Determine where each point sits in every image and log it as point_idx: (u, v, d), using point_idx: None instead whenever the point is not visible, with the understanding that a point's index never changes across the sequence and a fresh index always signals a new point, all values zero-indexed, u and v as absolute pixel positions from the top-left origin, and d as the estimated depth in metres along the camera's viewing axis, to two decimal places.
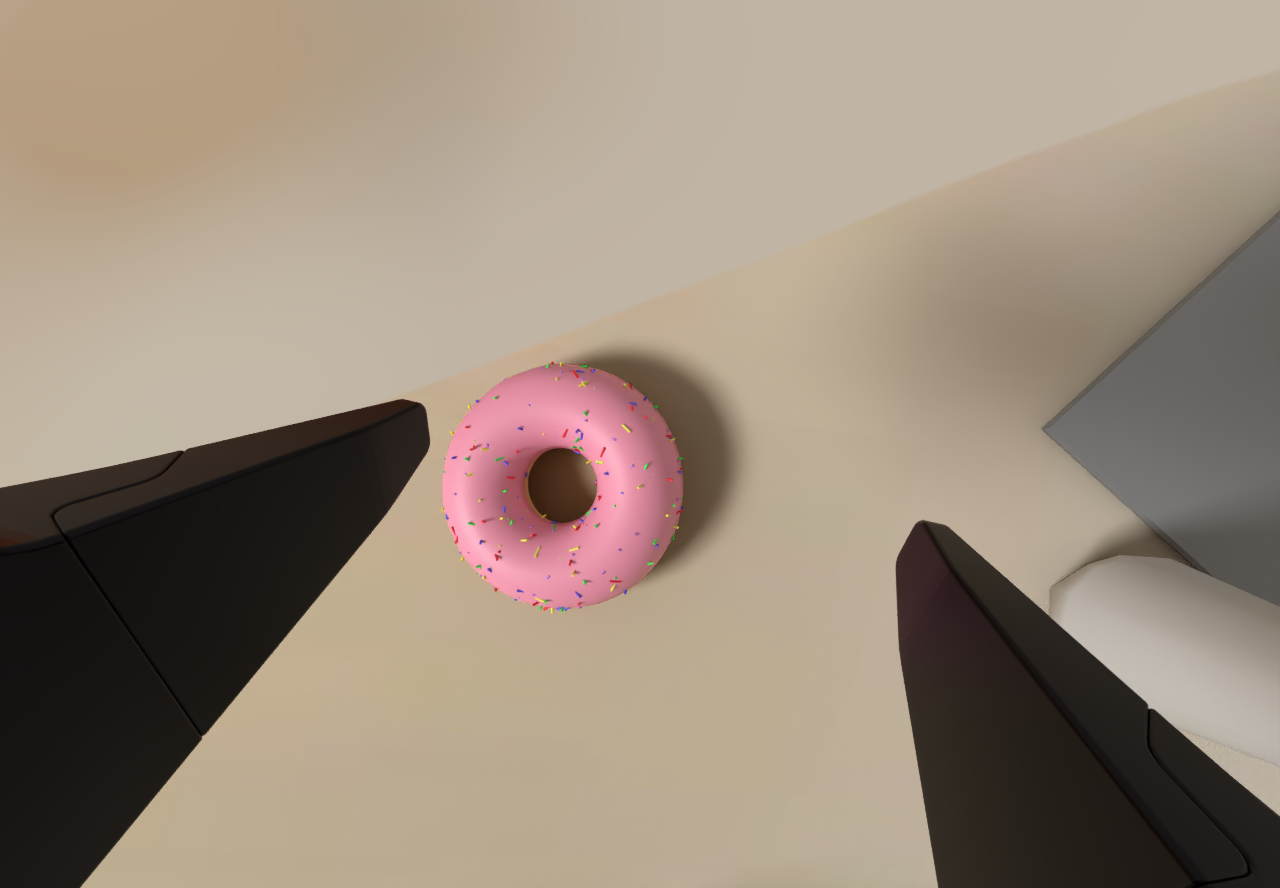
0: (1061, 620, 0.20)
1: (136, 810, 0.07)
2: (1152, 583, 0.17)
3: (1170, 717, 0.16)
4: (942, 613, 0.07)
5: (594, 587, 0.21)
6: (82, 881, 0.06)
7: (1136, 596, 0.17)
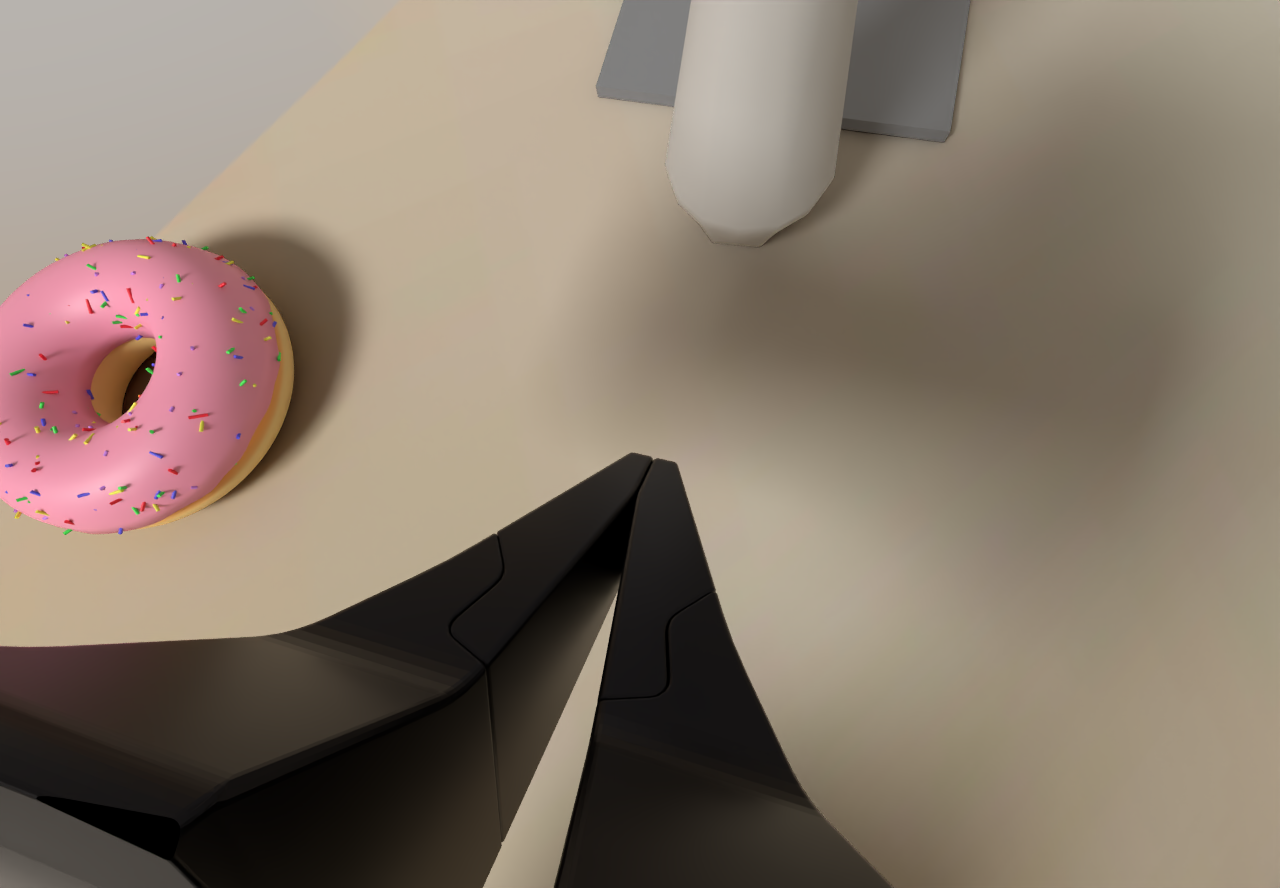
0: (675, 192, 0.18)
1: None
2: None
3: (749, 146, 0.14)
4: None
5: (173, 435, 0.16)
6: None
7: None
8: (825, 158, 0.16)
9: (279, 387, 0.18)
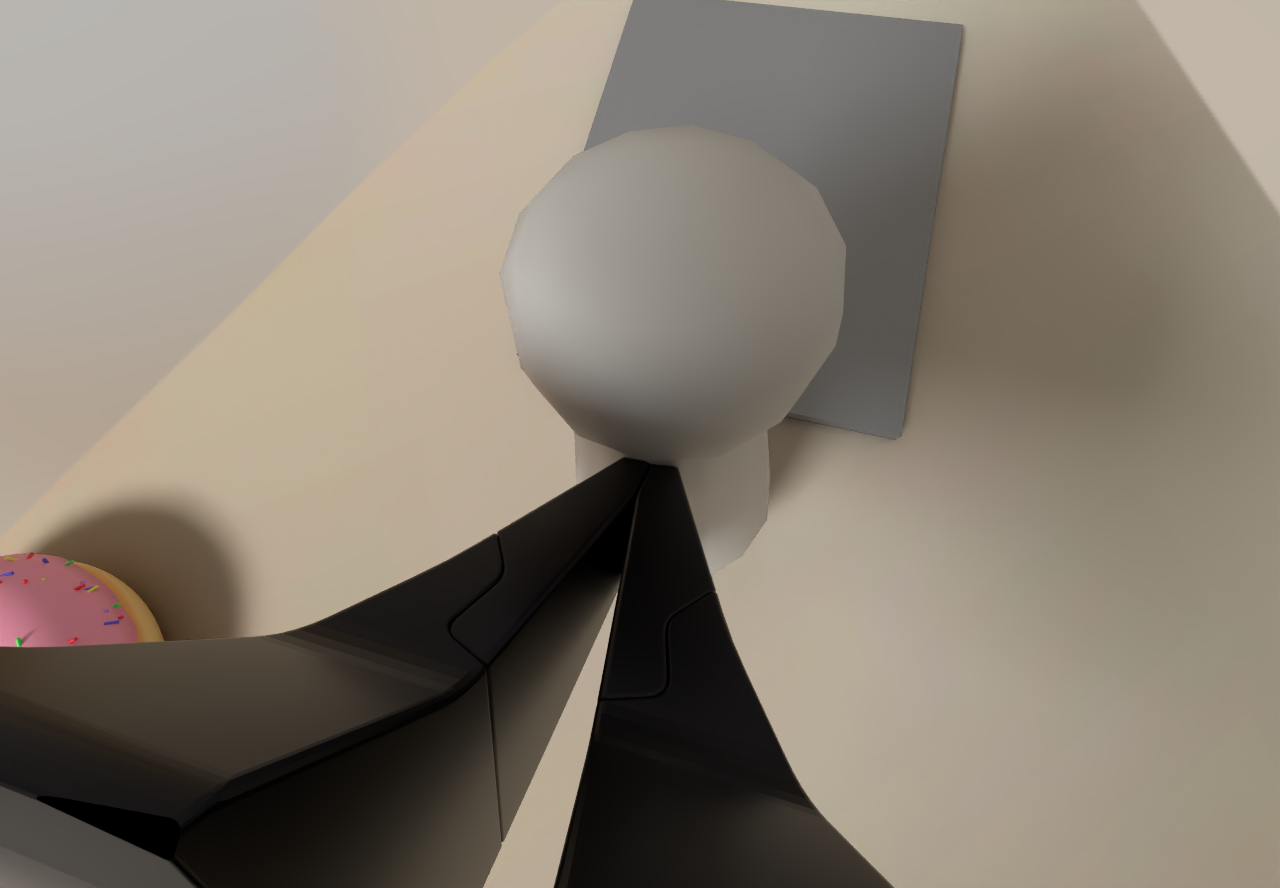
0: None
1: None
2: None
3: None
4: None
5: None
6: None
7: None
8: (750, 526, 0.13)
9: None
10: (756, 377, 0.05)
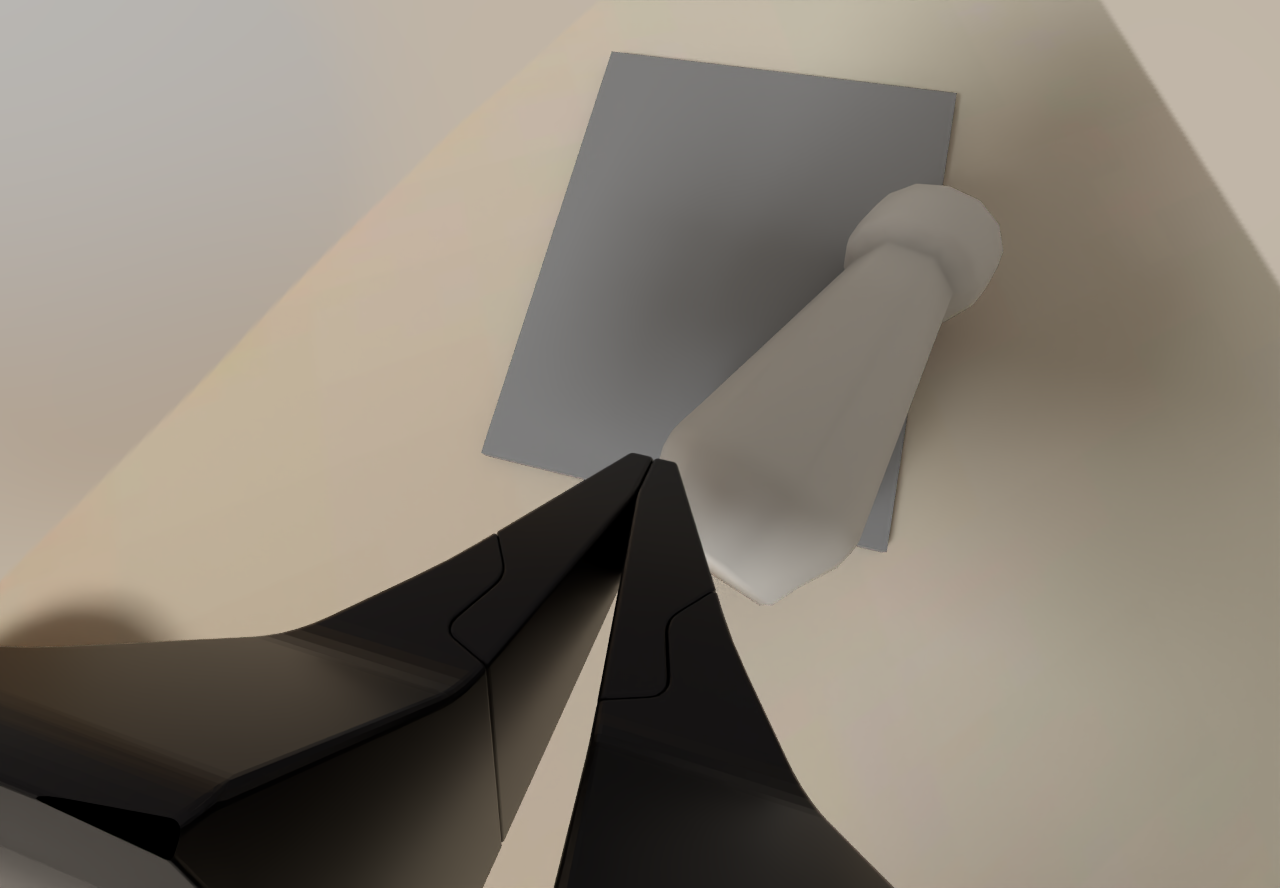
0: (742, 448, 0.12)
1: None
2: None
3: (882, 414, 0.13)
4: None
5: None
6: None
7: (738, 377, 0.14)
8: None
9: None
10: None
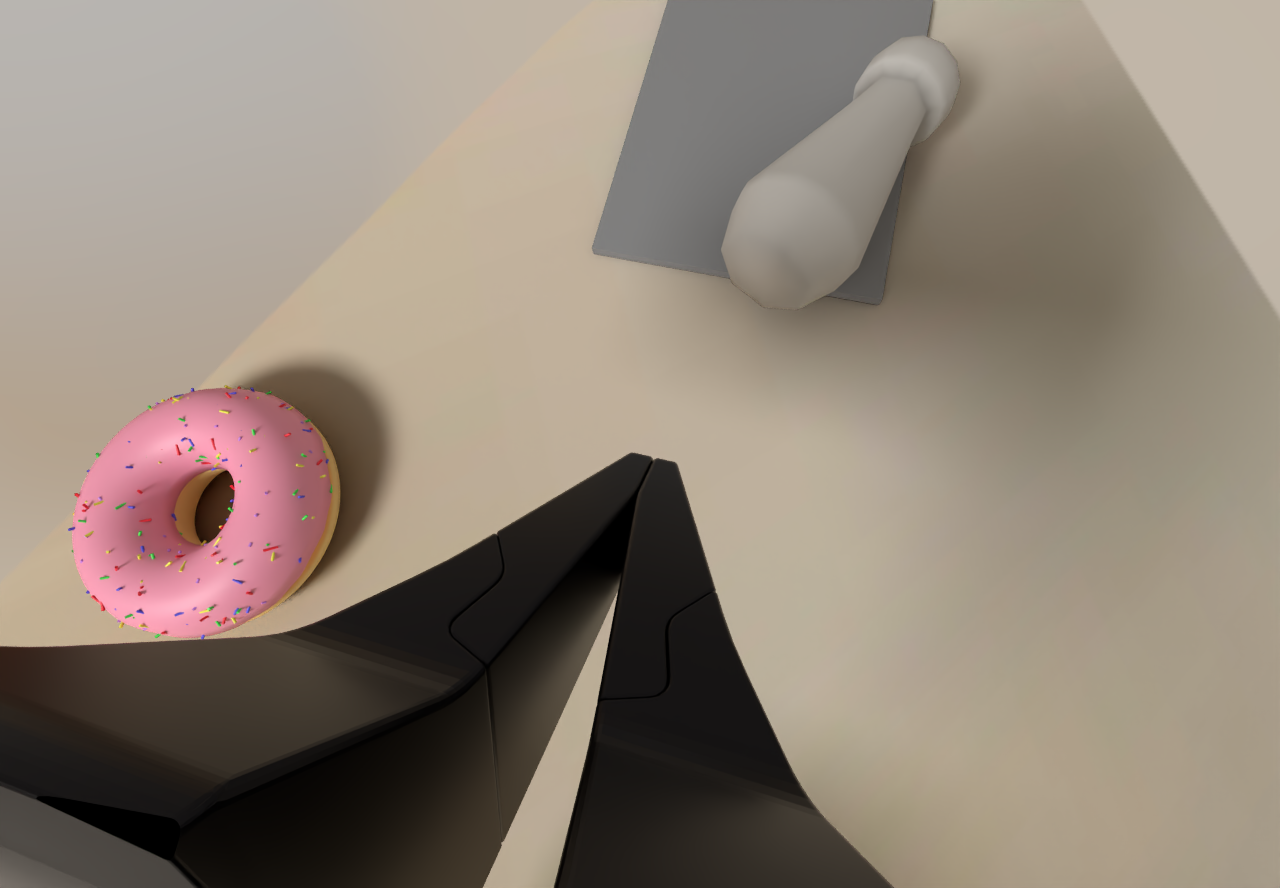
0: (792, 175, 0.19)
1: None
2: None
3: (878, 167, 0.20)
4: None
5: (251, 565, 0.20)
6: None
7: (784, 154, 0.21)
8: None
9: (330, 512, 0.23)
10: None
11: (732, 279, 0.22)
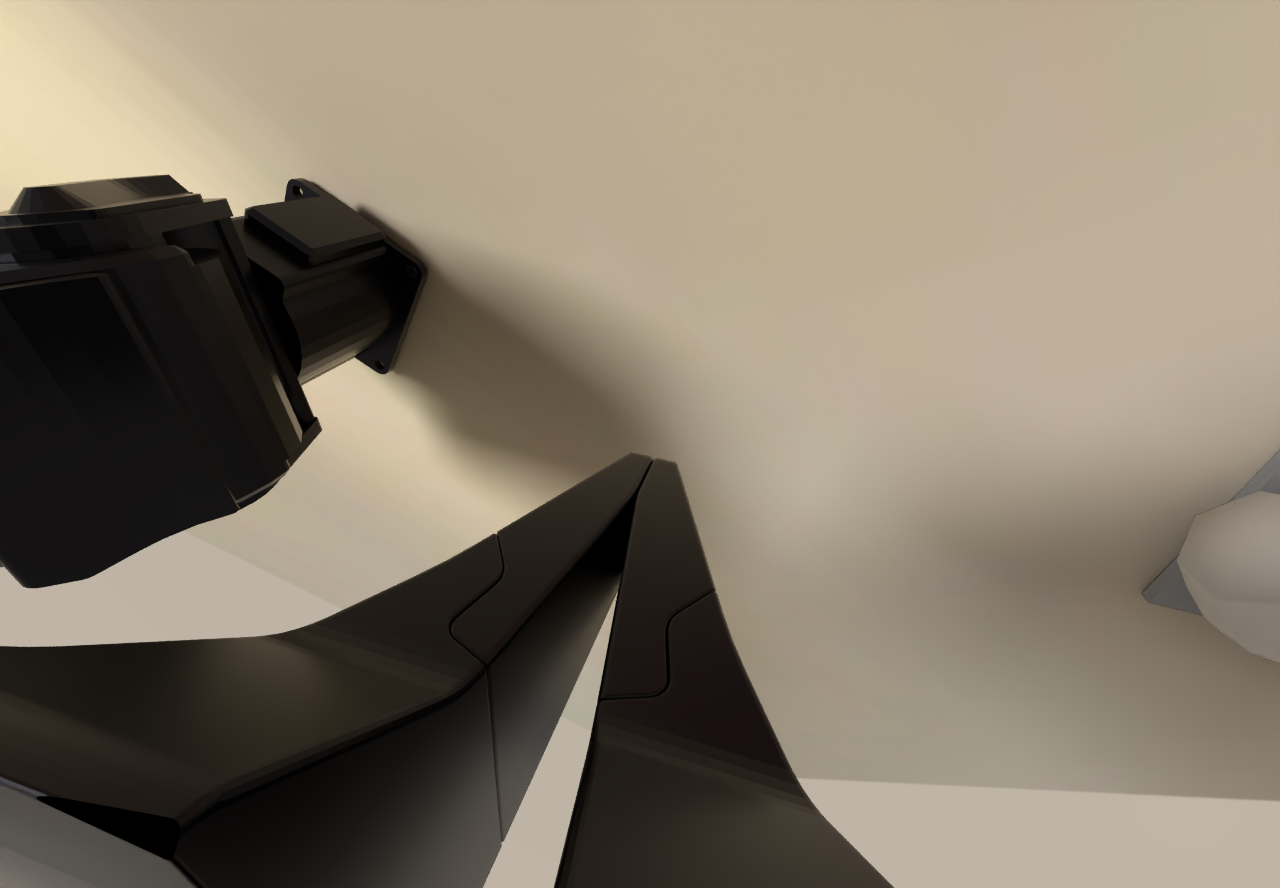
0: None
1: None
2: None
3: None
4: None
5: None
6: None
7: None
8: None
9: None
10: None
11: (1266, 495, 0.17)
